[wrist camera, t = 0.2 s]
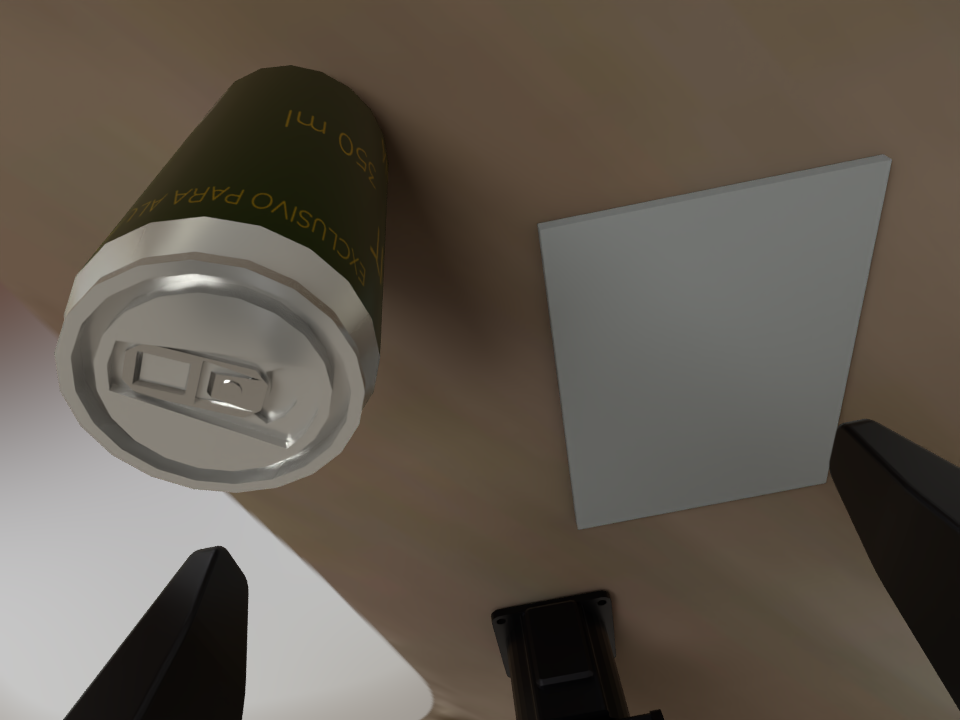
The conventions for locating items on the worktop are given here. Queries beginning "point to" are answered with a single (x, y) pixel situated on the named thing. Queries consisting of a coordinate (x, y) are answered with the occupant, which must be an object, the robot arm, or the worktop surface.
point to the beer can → (239, 293)
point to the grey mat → (709, 337)
